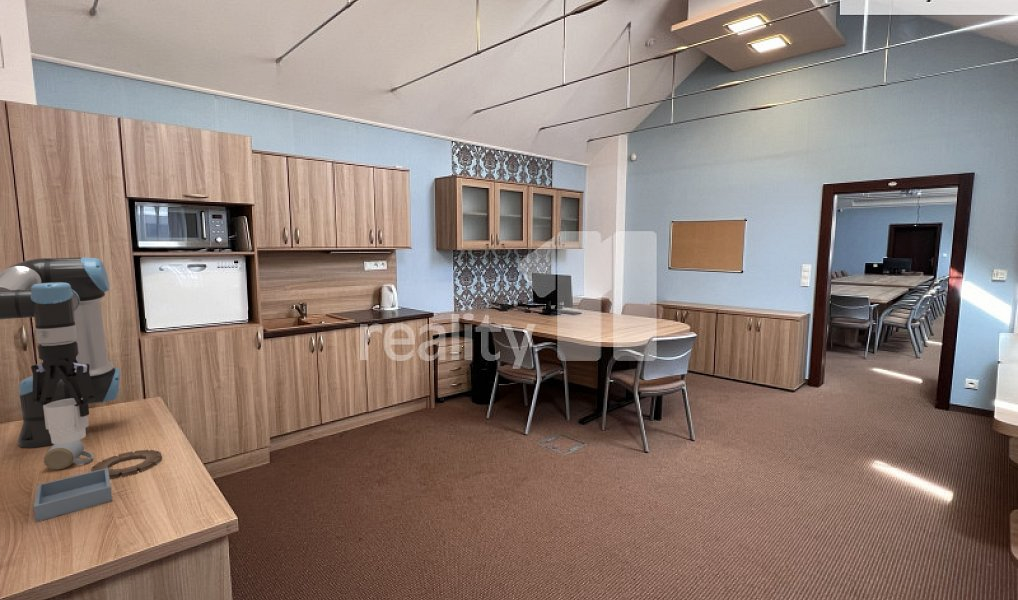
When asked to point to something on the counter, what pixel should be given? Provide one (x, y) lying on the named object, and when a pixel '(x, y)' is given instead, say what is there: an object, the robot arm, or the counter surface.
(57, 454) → the ceramic mug
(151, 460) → the holder ring
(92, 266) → the robot arm
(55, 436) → the white cup
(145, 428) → the counter surface
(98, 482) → the bin
